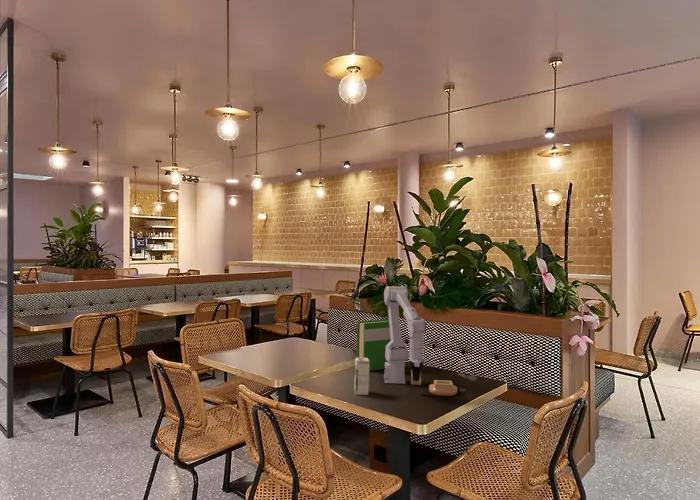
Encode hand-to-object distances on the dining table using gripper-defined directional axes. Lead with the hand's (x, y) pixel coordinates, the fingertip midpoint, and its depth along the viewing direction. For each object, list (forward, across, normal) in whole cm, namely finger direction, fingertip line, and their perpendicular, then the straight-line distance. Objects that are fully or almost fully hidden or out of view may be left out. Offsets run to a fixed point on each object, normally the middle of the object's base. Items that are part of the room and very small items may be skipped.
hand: (415, 379), depth 202 cm
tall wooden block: (+2, 0, 0) cm, 2 cm away
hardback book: (+6, +42, +19) cm, 46 cm away
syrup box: (+6, -2, +23) cm, 24 cm away
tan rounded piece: (+6, +5, -12) cm, 14 cm away
